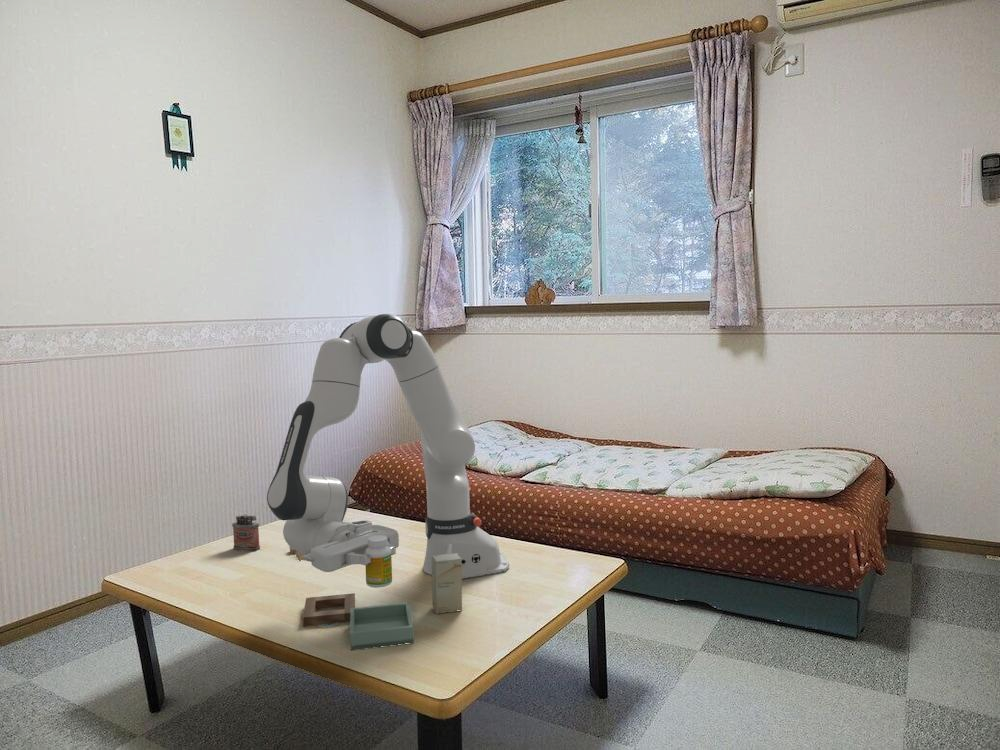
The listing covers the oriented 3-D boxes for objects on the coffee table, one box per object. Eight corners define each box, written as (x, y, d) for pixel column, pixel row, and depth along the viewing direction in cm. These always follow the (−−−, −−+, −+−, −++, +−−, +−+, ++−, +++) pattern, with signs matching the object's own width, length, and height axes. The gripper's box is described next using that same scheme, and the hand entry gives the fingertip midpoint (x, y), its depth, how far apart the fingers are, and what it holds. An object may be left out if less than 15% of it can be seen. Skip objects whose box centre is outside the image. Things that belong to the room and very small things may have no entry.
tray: (409, 617, 159) (408, 602, 159) (414, 643, 147) (413, 626, 147) (351, 623, 157) (350, 608, 157) (350, 650, 145) (350, 633, 144)
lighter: (231, 550, 208) (229, 516, 207) (238, 546, 211) (236, 512, 210) (256, 551, 206) (254, 517, 205) (262, 547, 209) (260, 514, 208)
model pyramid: (285, 546, 212) (284, 512, 211) (344, 537, 219) (343, 504, 218) (295, 563, 197) (293, 527, 196) (358, 553, 204) (356, 518, 203)
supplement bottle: (386, 589, 148) (385, 542, 147) (362, 587, 149) (360, 541, 148) (395, 579, 153) (394, 534, 152) (371, 577, 154) (370, 533, 153)
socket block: (355, 601, 169) (354, 593, 169) (355, 621, 158) (354, 612, 158) (306, 606, 167) (306, 597, 167) (303, 626, 156) (302, 617, 156)
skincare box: (435, 614, 161) (434, 561, 160) (431, 607, 165) (430, 555, 164) (463, 611, 162) (462, 558, 161) (458, 603, 167) (457, 552, 166)
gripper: (297, 541, 150) (340, 555, 142) (372, 518, 166) (415, 528, 157) (299, 571, 151) (341, 586, 142) (373, 544, 167) (416, 557, 158)
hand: (381, 555), depth 150 cm, fingers closed on supplement bottle, 5 cm apart
